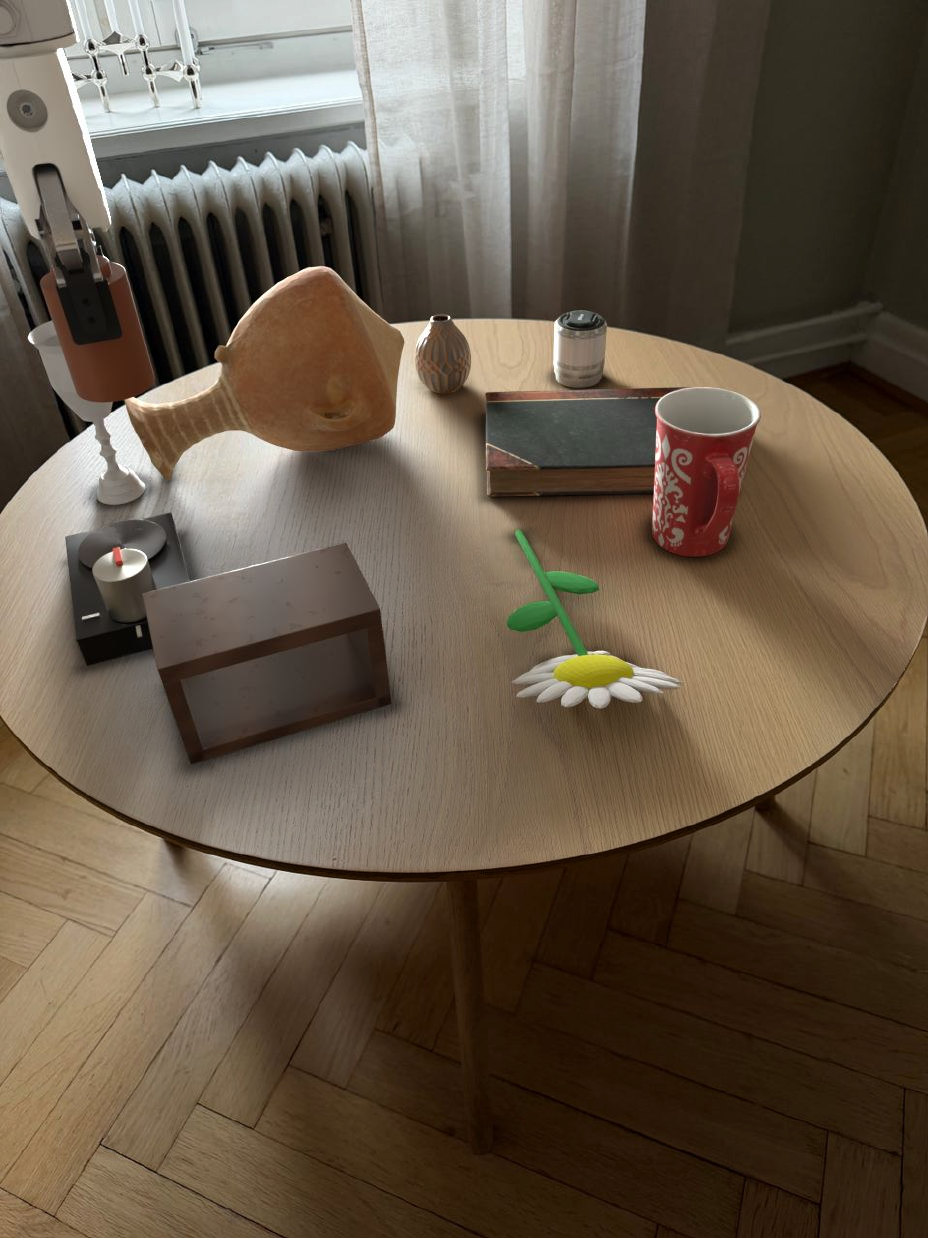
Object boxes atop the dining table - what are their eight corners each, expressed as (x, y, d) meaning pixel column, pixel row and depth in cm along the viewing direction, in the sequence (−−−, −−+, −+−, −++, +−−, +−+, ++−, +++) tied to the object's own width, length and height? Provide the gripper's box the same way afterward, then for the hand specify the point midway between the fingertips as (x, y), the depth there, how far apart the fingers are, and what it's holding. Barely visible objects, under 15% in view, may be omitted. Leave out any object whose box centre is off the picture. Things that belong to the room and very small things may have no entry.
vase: (483, 384, 114) (482, 315, 109) (445, 404, 111) (441, 335, 105) (443, 368, 118) (440, 301, 112) (405, 387, 114) (399, 319, 109)
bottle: (78, 408, 65) (29, 266, 58) (74, 375, 69) (29, 239, 62) (158, 393, 66) (120, 252, 60) (150, 362, 70) (114, 226, 64)
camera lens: (606, 368, 117) (610, 307, 112) (599, 391, 112) (604, 329, 107) (557, 364, 118) (559, 304, 113) (548, 387, 113) (550, 325, 108)
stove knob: (164, 614, 78) (149, 569, 75) (110, 628, 77) (93, 583, 74) (156, 584, 81) (142, 540, 78) (105, 598, 80) (88, 553, 77)
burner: (81, 581, 82) (80, 579, 82) (75, 533, 88) (74, 531, 87) (172, 559, 84) (171, 556, 84) (161, 514, 90) (160, 511, 89)
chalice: (137, 466, 102) (88, 308, 90) (167, 490, 98) (120, 328, 87) (75, 492, 99) (16, 331, 87) (103, 518, 95) (45, 353, 83)
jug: (445, 376, 90) (145, 477, 85) (430, 452, 109) (183, 539, 103) (369, 206, 93) (76, 292, 88) (367, 308, 112) (124, 384, 106)
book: (486, 498, 95) (729, 493, 94) (485, 468, 93) (735, 462, 92) (485, 416, 108) (699, 411, 108) (485, 388, 106) (703, 382, 105)
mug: (633, 510, 93) (646, 387, 84) (723, 506, 93) (745, 383, 84) (658, 590, 83) (676, 460, 74) (758, 585, 83) (787, 455, 74)
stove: (88, 680, 77) (76, 652, 75) (74, 561, 89) (64, 534, 87) (208, 647, 79) (200, 619, 77) (178, 536, 92) (171, 510, 90)
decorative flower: (455, 565, 90) (531, 768, 66) (454, 521, 88) (534, 715, 63) (579, 553, 92) (699, 746, 68) (583, 509, 90) (709, 693, 65)
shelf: (190, 765, 69) (157, 669, 63) (173, 687, 76) (141, 593, 69) (392, 704, 73) (380, 608, 67) (360, 635, 80) (346, 541, 73)
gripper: (78, 33, 47) (164, 362, 59) (66, -6, 60) (139, 272, 72) (-79, 48, 46) (42, 384, 58) (-58, 4, 58) (38, 288, 70)
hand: (95, 319), depth 64 cm, fingers closed on bottle, 5 cm apart
